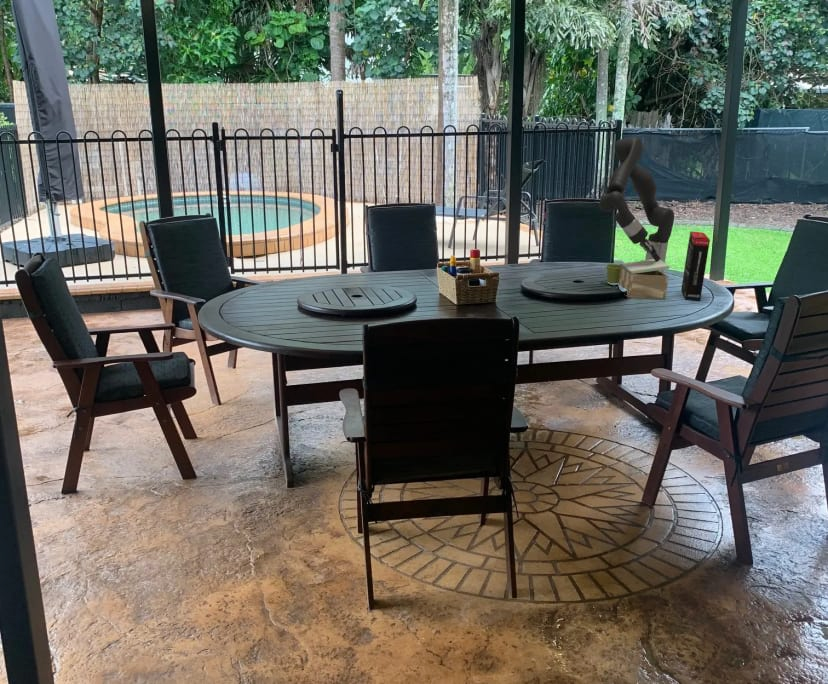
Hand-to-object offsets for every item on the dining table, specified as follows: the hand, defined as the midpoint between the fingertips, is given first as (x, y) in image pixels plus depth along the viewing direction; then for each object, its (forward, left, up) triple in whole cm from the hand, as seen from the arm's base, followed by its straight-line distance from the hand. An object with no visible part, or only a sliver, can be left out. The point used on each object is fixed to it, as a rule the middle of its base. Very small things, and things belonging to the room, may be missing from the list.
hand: (658, 260), depth 336 cm
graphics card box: (+2, +16, -15) cm, 22 cm away
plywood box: (+3, -6, -15) cm, 16 cm away
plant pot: (-12, -14, -15) cm, 24 cm away
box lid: (+3, -7, -3) cm, 8 cm away
